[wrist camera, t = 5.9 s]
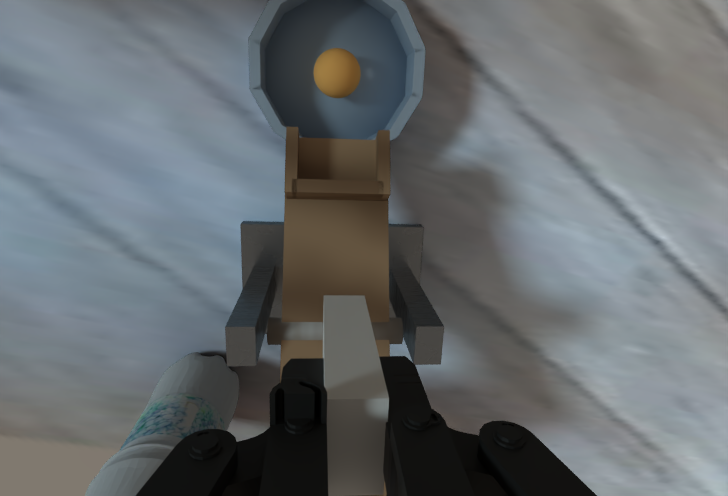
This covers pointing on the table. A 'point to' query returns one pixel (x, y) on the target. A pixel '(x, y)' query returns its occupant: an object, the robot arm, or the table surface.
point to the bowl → (326, 31)
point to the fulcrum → (266, 286)
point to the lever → (334, 240)
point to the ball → (337, 73)
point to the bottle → (171, 421)
